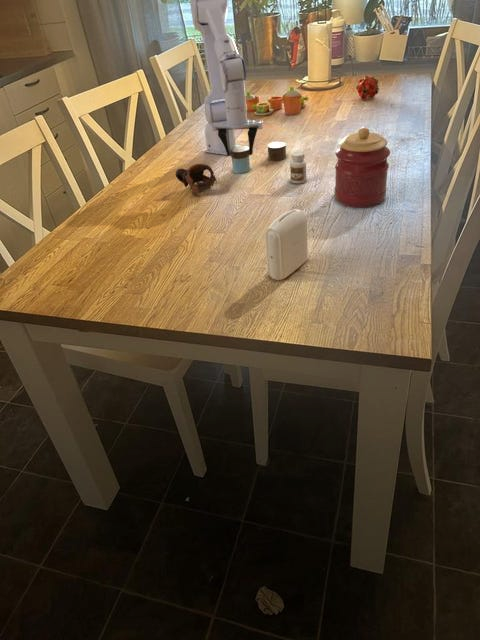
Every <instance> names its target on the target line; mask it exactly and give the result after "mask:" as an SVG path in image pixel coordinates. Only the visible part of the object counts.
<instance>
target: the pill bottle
mask: <svg viewBox="0 0 480 640" xmlns="http://www.w3.org/2000/svg"><path fill="white" fill-rule="evenodd" d="M289 169H290V171H289V172H290V174H289V175H290V182H291V183H293V184H302V183H305V182H307V162H306V160H305V152H304V151H293V152H292V153H291V161H290V163H289Z"/></svg>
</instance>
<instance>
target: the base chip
mask: <svg viewBox="0 0 480 640" xmlns="http://www.w3.org/2000/svg"><path fill="white" fill-rule="evenodd" d="M267 158H268V160H269V161H273V162H275V161H277V162H278V161H279V162H280V161H283V160H285V159H286V158H287V151H286V152H284V153H282V154H270V153H268V152H267Z"/></svg>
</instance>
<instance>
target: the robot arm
mask: <svg viewBox="0 0 480 640" xmlns="http://www.w3.org/2000/svg"><path fill="white" fill-rule="evenodd" d="M189 2H190V12H191V19H192V23H193V26H194V30H196V31H198V32H200V36H201V38H202V42H203V49H204V55H205V60H206V61H205V62H206V67H207V73H208V79H209V80H208V81H209V86H210V92H208V94H207V95H206V96H205V98H204V100H203V103H204V115H205V118H206V119H205V120H206V122H207V124H206V125H205V127H204V136H205V144H206V150H205V152H206V153H211V154H216V155H225V156H227V157H229V156H230V157H231V152H230V149H231V148H233V147H236V146H238V145H237V144H236V134H235V130H236V131H237V130H248V131H247V137H248V138H247V139H248V147H249V154H250V155H249V156H252V155H253V154H254V143H255V139H256V137H257V133H258V130H263V129H264V120H262V119H248V115H247V105H246V99H245V96H246V88H245V81H246V80H247V66H246V61H245V59H244V57H243V56H242V55H241V54H239V51H238V49H237V46H236V42H235V39H234V38H233V37H232V36H231V35H229V34H228V30H227V25H226V19H227V15H228V9H229V8H228V6H229V5H228V0H190V1H189ZM218 100H219V101H218Z"/></svg>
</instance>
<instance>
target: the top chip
mask: <svg viewBox="0 0 480 640" xmlns="http://www.w3.org/2000/svg"><path fill="white" fill-rule="evenodd" d="M230 152H231V154H230V158H231V159H232V158H234V159H243V158H246V157H248V156H249V157H250V156H251V155H250V154H249V146H247V145H237V146H236V147H233V148H231V149H230Z"/></svg>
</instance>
